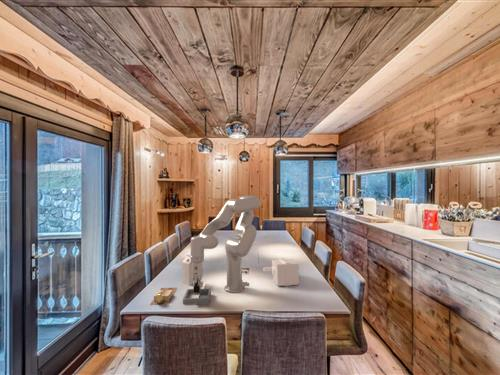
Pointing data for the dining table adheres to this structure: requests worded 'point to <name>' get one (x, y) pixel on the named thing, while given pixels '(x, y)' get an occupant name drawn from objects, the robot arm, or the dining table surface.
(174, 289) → the board
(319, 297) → the dining table surface
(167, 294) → the thick square wood block
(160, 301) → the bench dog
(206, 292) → the tray
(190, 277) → the milk carton
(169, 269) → the dining table surface
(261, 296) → the dining table surface
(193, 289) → the dowel
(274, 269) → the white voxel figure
